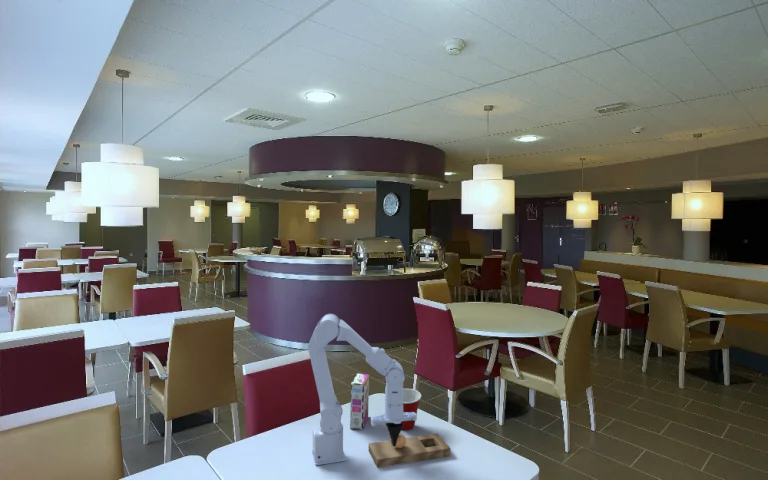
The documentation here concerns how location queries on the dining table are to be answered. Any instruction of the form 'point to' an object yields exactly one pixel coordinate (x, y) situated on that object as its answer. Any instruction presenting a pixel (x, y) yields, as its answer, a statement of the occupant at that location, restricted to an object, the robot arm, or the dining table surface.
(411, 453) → the deck
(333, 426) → the robot arm
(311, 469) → the dining table surface
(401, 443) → the ball
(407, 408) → the plastic cup
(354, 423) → the candy bar box
